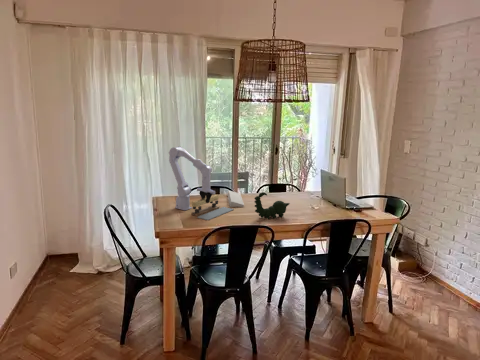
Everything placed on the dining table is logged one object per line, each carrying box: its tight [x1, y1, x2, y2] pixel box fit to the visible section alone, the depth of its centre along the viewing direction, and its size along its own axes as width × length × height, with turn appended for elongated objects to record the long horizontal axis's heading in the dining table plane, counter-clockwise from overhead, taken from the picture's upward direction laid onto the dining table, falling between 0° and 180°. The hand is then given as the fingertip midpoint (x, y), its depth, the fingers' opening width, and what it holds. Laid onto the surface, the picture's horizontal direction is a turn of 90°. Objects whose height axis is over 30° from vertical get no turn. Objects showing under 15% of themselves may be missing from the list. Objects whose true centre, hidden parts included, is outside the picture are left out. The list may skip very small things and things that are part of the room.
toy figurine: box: [254, 191, 290, 220], centre depth 238 cm, size 9×19×25 cm
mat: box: [196, 206, 235, 221], centre depth 243 cm, size 9×30×1 cm, turn 147°
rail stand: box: [191, 199, 220, 217], centre depth 247 cm, size 6×24×6 cm, turn 147°
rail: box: [191, 194, 220, 208], centre depth 246 cm, size 3×26×3 cm, turn 147°
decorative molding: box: [226, 190, 245, 208], centre depth 277 cm, size 34×5×10 cm
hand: (205, 202), depth 246 cm, fingers closed on rail, 3 cm apart
